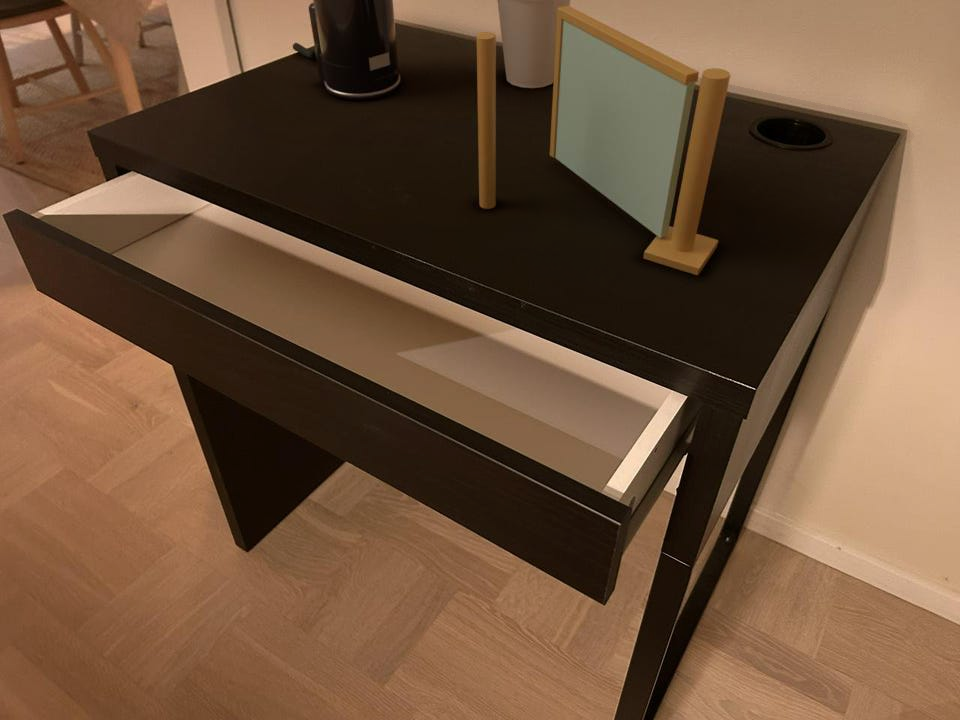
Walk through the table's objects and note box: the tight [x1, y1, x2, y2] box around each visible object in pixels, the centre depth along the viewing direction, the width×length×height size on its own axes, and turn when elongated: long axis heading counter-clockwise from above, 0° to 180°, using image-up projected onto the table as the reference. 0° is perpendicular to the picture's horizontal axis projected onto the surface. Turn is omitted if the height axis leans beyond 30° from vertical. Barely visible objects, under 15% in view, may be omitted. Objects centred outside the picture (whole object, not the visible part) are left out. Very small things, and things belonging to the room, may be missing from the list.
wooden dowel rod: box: [476, 31, 497, 210], centre depth 67 cm, size 2×2×16 cm
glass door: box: [549, 6, 700, 238], centre depth 67 cm, size 18×1×15 cm, turn 28°
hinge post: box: [642, 67, 731, 276], centre depth 61 cm, size 5×5×16 cm
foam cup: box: [497, 0, 571, 89], centre depth 91 cm, size 10×9×13 cm
